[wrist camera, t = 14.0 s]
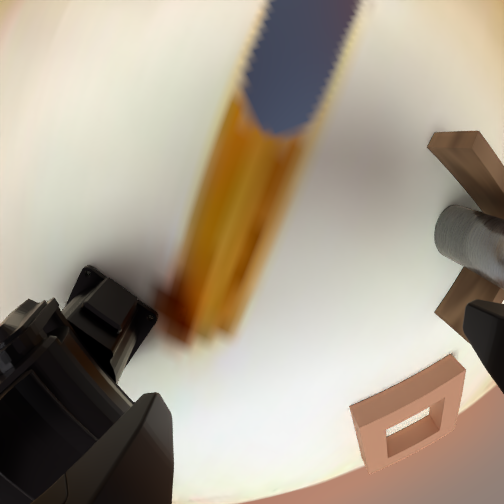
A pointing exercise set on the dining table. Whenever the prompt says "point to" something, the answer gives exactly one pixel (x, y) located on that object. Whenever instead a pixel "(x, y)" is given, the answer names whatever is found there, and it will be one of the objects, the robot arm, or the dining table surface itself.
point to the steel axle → (472, 241)
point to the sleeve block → (409, 414)
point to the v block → (489, 201)
